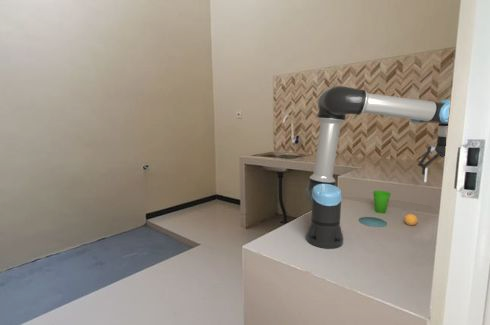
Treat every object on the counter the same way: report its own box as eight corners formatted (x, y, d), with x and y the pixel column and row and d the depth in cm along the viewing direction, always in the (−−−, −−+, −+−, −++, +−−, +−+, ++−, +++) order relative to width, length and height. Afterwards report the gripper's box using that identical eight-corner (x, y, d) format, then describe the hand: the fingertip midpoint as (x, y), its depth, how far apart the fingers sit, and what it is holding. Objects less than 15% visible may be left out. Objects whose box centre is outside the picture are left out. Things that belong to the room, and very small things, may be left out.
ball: (405, 226, 132) (406, 215, 131) (402, 222, 137) (403, 211, 136) (418, 227, 131) (419, 216, 130) (414, 223, 136) (415, 212, 135)
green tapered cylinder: (391, 215, 147) (393, 195, 146) (373, 214, 149) (375, 194, 147) (386, 209, 156) (388, 191, 154) (369, 208, 158) (371, 190, 156)
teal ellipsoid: (360, 225, 133) (360, 225, 133) (357, 216, 146) (357, 215, 146) (390, 228, 130) (390, 227, 130) (383, 218, 143) (383, 218, 143)
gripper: (485, 135, 114) (480, 185, 117) (415, 134, 130) (412, 178, 133) (486, 137, 108) (480, 189, 111) (413, 135, 124) (409, 181, 127)
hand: (443, 183), depth 122 cm, fingers open, 13 cm apart
